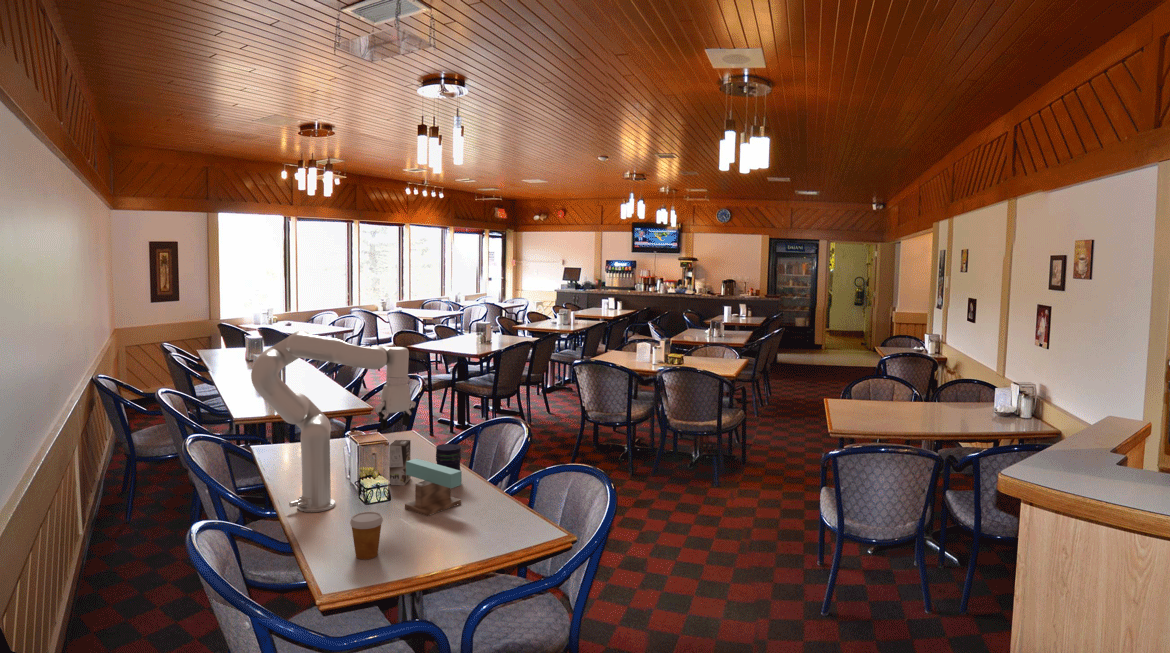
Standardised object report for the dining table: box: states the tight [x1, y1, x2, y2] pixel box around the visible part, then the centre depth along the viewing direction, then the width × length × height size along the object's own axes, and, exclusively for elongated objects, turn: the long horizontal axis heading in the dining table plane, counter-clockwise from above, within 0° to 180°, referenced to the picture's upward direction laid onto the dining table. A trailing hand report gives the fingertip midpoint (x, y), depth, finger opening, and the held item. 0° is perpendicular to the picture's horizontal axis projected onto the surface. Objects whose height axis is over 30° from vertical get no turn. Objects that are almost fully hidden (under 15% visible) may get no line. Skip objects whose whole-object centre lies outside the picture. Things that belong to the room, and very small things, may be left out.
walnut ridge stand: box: [404, 480, 462, 517], centre depth 253 cm, size 16×12×10 cm
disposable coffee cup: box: [349, 511, 384, 561], centre depth 210 cm, size 10×10×12 cm
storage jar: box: [435, 443, 462, 471], centre depth 279 cm, size 10×10×15 cm
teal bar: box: [406, 458, 463, 489], centre depth 253 cm, size 24×5×5 cm, turn 53°
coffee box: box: [388, 439, 412, 486], centre depth 279 cm, size 9×6×16 cm
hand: (394, 427), depth 256 cm, fingers open, 9 cm apart
